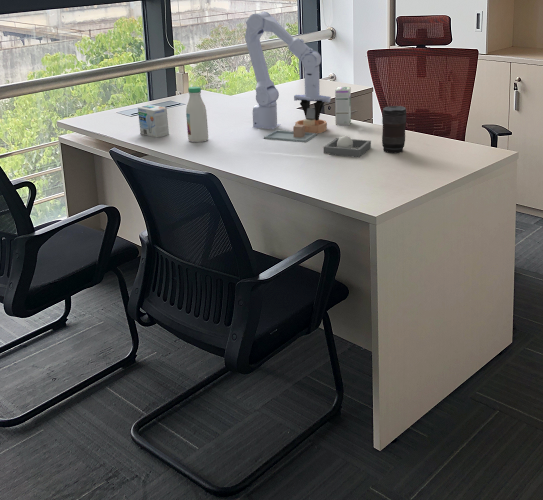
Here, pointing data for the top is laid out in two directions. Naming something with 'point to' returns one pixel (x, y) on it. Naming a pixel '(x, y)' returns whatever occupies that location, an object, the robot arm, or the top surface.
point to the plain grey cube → (310, 113)
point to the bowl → (318, 128)
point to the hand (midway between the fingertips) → (312, 119)
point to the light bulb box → (153, 121)
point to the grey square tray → (361, 144)
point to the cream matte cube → (309, 122)
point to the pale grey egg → (345, 142)
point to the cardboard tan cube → (299, 130)
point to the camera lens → (393, 129)
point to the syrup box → (343, 106)
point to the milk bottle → (196, 116)
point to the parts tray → (288, 136)
